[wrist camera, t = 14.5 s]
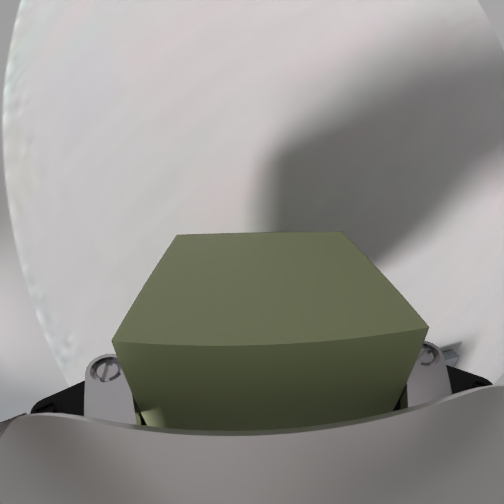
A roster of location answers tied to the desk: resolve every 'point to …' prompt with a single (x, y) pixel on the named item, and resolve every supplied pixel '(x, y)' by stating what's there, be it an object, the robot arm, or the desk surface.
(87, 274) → the desk surface
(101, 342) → the desk surface
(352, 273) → the olive block
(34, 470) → the robot arm
